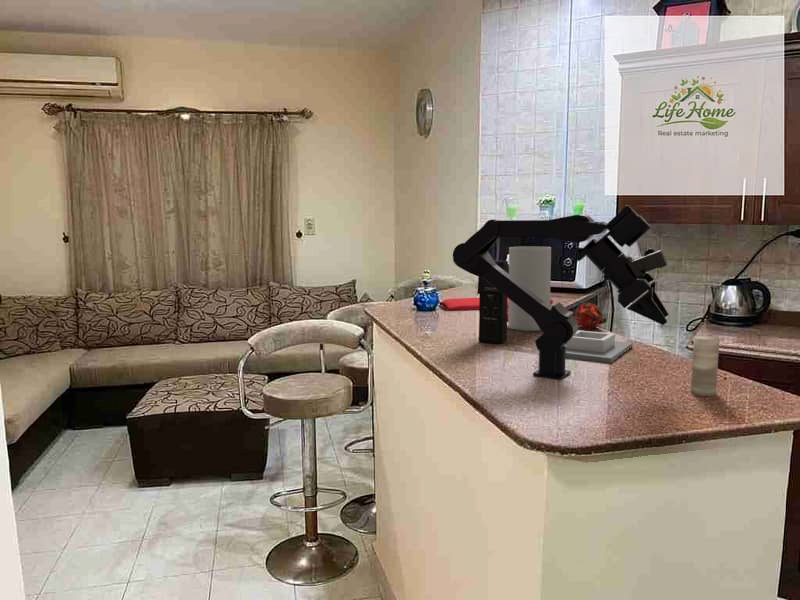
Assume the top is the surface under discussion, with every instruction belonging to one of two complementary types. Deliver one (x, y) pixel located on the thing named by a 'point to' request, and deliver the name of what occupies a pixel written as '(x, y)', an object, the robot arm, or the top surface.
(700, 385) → the birch pin
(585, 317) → the dragon fruit
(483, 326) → the portable radio
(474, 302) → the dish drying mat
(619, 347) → the socket board
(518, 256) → the cylinder vase
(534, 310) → the robot arm
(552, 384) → the top surface
